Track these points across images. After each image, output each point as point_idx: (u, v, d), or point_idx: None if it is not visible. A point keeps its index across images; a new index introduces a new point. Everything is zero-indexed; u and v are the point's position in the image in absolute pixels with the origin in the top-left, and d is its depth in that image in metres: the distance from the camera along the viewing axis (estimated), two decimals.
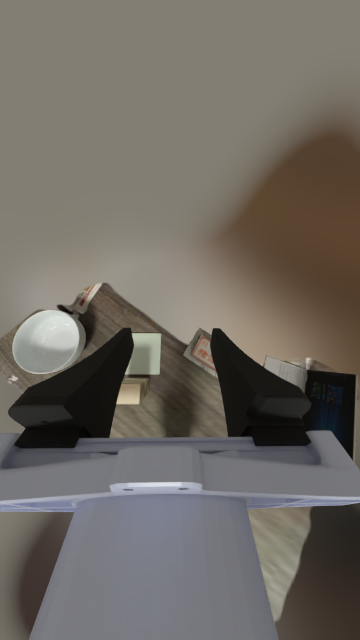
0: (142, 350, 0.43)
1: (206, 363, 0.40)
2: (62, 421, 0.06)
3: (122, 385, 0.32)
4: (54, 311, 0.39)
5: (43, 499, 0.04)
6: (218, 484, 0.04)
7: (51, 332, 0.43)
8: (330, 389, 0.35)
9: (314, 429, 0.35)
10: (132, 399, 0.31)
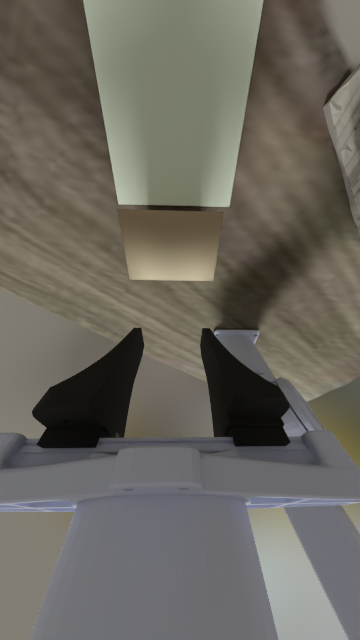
0: (182, 102, 0.12)
1: None
2: (84, 421, 0.06)
3: (153, 216, 0.08)
4: None
5: (43, 499, 0.04)
6: (218, 484, 0.04)
7: None
8: None
9: None
10: (193, 267, 0.10)
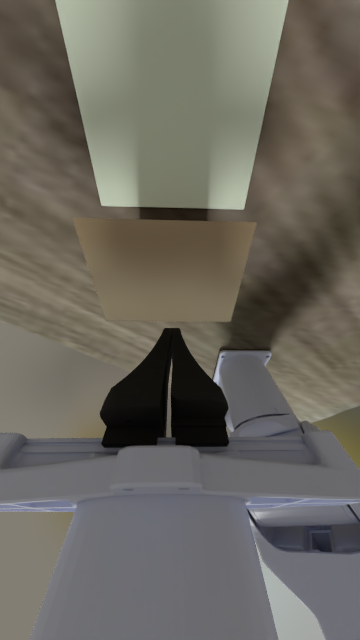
0: (184, 63, 0.08)
1: None
2: (147, 420, 0.06)
3: (136, 229, 0.05)
4: None
5: (43, 499, 0.04)
6: (218, 484, 0.04)
7: None
8: None
9: None
10: (201, 305, 0.06)
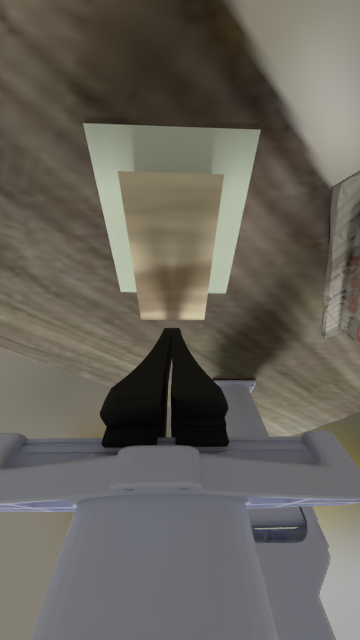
0: None
1: None
2: (147, 420, 0.06)
3: None
4: None
5: (43, 499, 0.04)
6: (218, 484, 0.04)
7: None
8: None
9: None
10: None
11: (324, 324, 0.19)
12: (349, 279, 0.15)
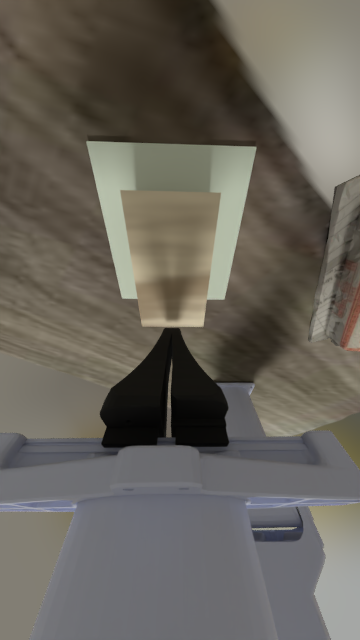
0: None
1: None
2: (148, 421, 0.06)
3: None
4: None
5: (43, 499, 0.04)
6: (218, 484, 0.04)
7: None
8: None
9: None
10: None
11: (311, 328, 0.20)
12: (340, 284, 0.15)
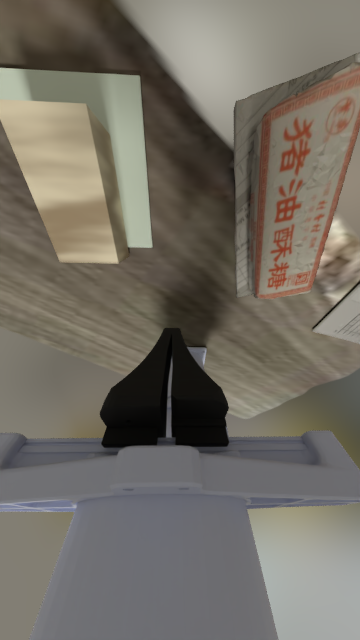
0: None
1: (264, 195, 0.13)
2: (147, 420, 0.06)
3: None
4: None
5: (43, 499, 0.04)
6: (218, 484, 0.04)
7: None
8: None
9: None
10: None
11: (236, 281, 0.20)
12: (249, 223, 0.16)
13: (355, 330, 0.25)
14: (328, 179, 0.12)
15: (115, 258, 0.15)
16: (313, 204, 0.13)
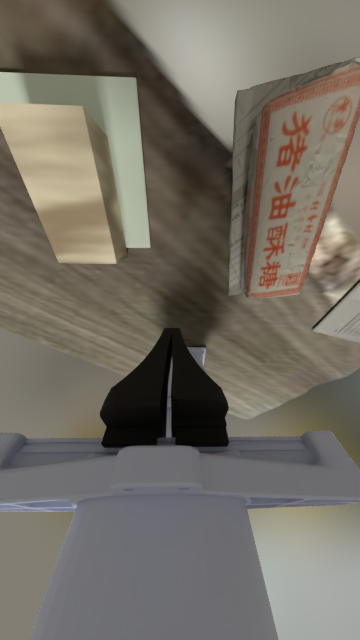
0: None
1: (260, 190, 0.13)
2: (148, 420, 0.06)
3: None
4: None
5: (43, 499, 0.04)
6: (218, 484, 0.04)
7: None
8: None
9: None
10: None
11: (228, 278, 0.20)
12: (244, 220, 0.16)
13: (356, 329, 0.25)
14: (322, 179, 0.12)
15: (113, 258, 0.15)
16: (307, 204, 0.13)
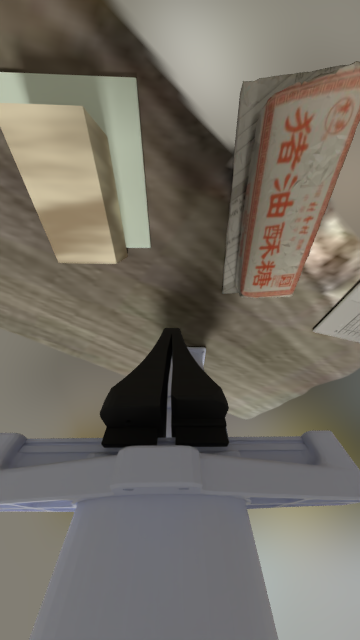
0: None
1: (260, 186, 0.13)
2: (148, 420, 0.06)
3: None
4: None
5: (43, 499, 0.04)
6: (218, 484, 0.04)
7: None
8: None
9: None
10: None
11: (223, 276, 0.20)
12: (242, 217, 0.15)
13: (356, 329, 0.25)
14: (321, 180, 0.12)
15: (113, 258, 0.15)
16: (304, 204, 0.13)
